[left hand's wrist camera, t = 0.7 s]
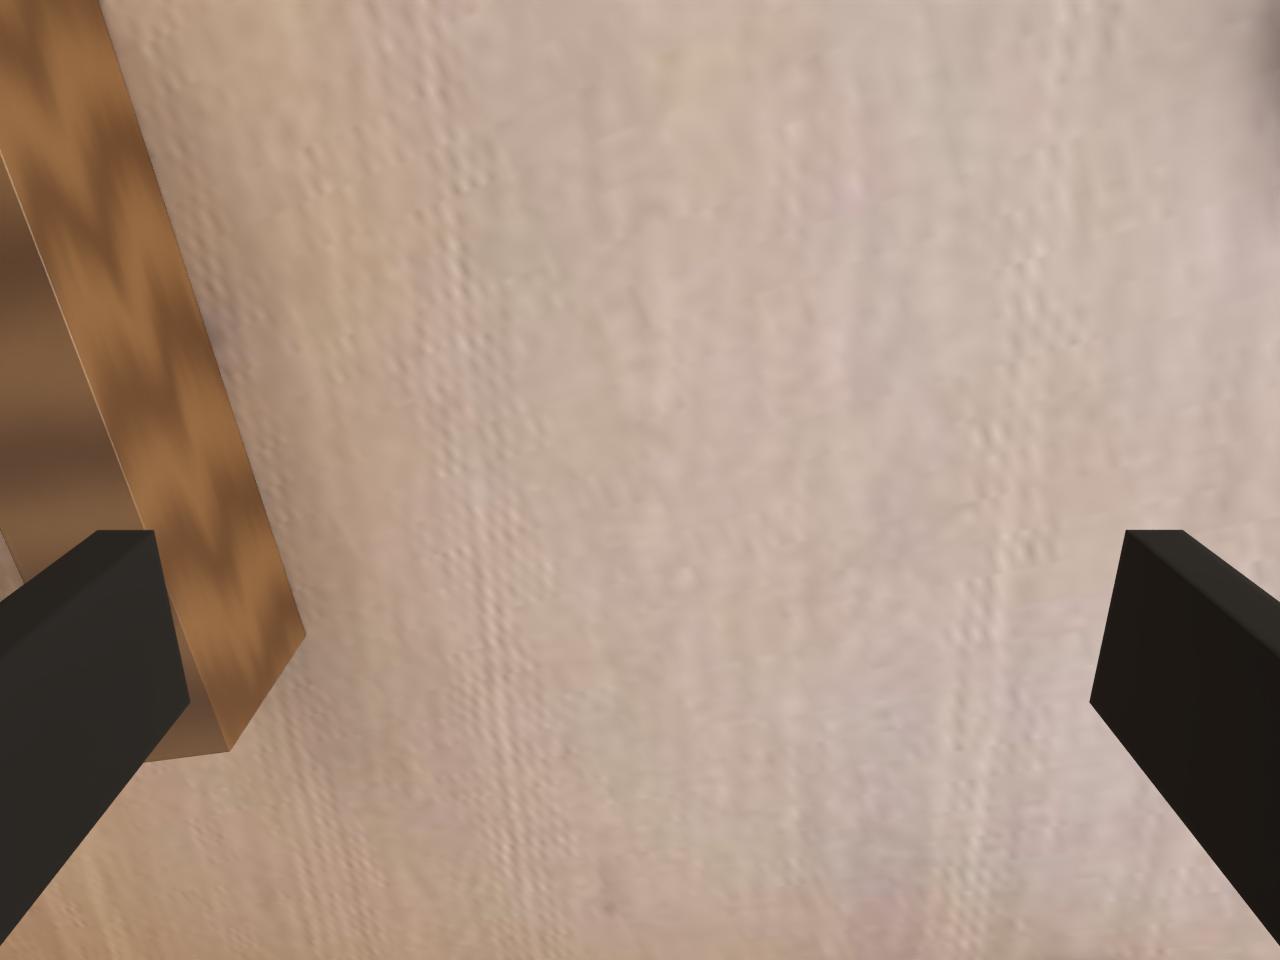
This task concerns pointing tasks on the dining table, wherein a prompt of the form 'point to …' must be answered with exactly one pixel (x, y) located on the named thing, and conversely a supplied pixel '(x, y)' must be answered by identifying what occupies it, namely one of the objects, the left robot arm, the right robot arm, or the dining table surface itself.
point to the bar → (122, 374)
